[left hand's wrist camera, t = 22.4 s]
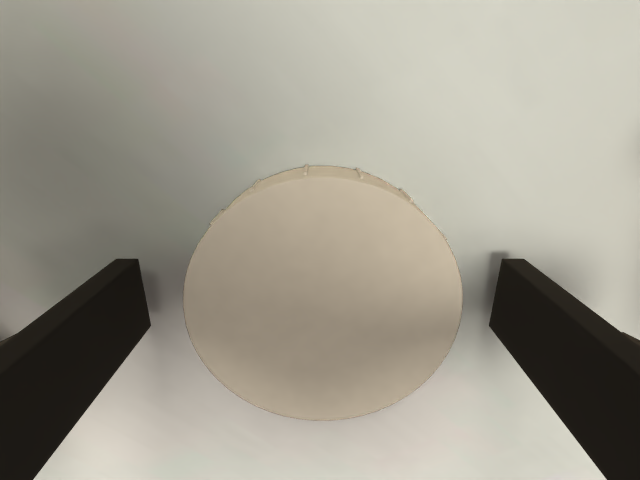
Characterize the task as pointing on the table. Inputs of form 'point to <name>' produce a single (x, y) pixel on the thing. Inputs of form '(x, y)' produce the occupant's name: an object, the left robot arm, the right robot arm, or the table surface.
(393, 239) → the lid
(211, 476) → the table surface
